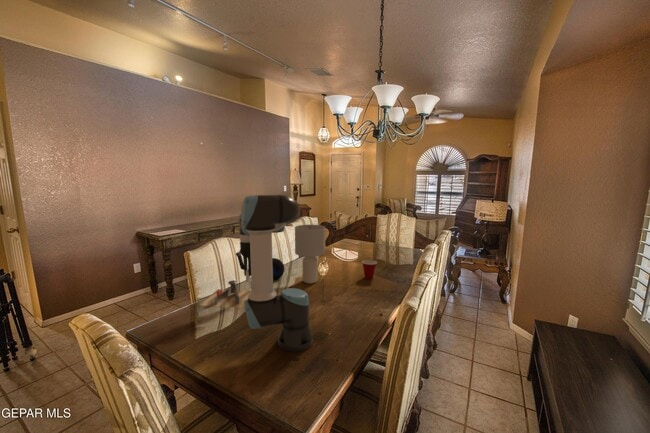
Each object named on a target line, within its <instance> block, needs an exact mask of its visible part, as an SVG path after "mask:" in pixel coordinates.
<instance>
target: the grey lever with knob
mask: <svg viewBox="0 0 650 433" xmlns="http://www.w3.org/2000/svg"><path fill="white" fill-rule="evenodd" d="M227 283H228V285H229V286H231V285H233V290H234V296H235V299H236V302H237V304H238V303H239V295H238V292H237V286H236V285H237V280H234V279H233V280H229V281H228V282H227Z"/></svg>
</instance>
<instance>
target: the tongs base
mask: <svg viewBox="0 0 650 433" xmlns="http://www.w3.org/2000/svg"><path fill="white" fill-rule="evenodd" d="M223 290H224V291H223V292H222V294H221V295H220V296H216V297H215V305H217V304H218V303H220V302H221V301H222V300H223V299H225V298H226V297H227V296H228V295H230V294H231V293H234V290H233V285H230V286H228V287H227V288H225V289H223ZM230 290H231V291H230Z"/></svg>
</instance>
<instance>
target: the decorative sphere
mask: <svg viewBox="0 0 650 433" xmlns="http://www.w3.org/2000/svg"><path fill="white" fill-rule="evenodd" d="M272 264H273V281H275V280H278V279H281V277H282V276H283V275H284V273H285V265H284V263H283V261H282V260H281V259H279V258H275V257H274V258H273V257H272Z"/></svg>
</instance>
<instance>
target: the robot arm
mask: <svg viewBox="0 0 650 433" xmlns="http://www.w3.org/2000/svg"><path fill="white" fill-rule="evenodd" d="M241 205H242V206H241V213H240V214H239V216H238V218H239V219H238V223H239V241H240V242H239V245H240V246H239V248H240V249H239V251H238V252H236V253H235V256H236V257H237V259H238V263H239V267H240V269H241V270H243V271H244V272H243V273H244V277H245V282H246V283H249V282H251V291H252V292H251V293H250V294H249V295H248V300H246V301H245V302H244V303H245V308H244V310H245V314H246V319H247V323H248V326H249V328H250V329H252V330H257V329H263V328H268V327H273V326H277V325H281V328H280V331H279V333H278V336H277V343H278V346H279V348H280V349H282V350H283V351H286V352H293V353H296V352H302V351H305V350H308V348H310V347H311V346H312V344H313V338H314V336H313V333H312V330H311V327H310V325H309V323H310V322H309V320H310V319H309V316H310V314H309V313H310V312H309V307H310V300H309V294H308V293H307V292H306V291H305V290H302V289H300V288H295V287H290V288H289V287H288V288H284V289H283V290H281V293H280V294H278V293H277V291H276V290H275V289H274V280H273V264H272V258H273V236H272V235H273V233H274V234H275V233H277V234H278V233H284V232H285V227H286V225H288V224H292V223H294V222H296V221H297V220H298V219H299V217H300V215H301V207H300V205H299V203H298V201H297V200H295V199H294V198H293V197H291V196H288V195H285V194H267V195H266V194H259V195H258V194H256V195H247V196H246V197H244V199H243V201H242V204H241Z"/></svg>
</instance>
